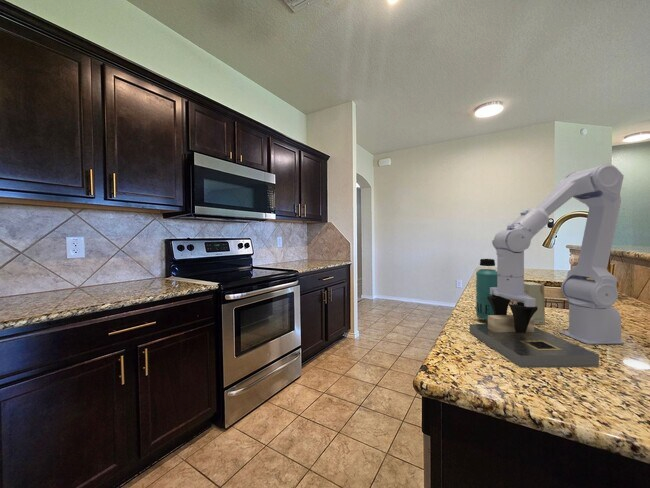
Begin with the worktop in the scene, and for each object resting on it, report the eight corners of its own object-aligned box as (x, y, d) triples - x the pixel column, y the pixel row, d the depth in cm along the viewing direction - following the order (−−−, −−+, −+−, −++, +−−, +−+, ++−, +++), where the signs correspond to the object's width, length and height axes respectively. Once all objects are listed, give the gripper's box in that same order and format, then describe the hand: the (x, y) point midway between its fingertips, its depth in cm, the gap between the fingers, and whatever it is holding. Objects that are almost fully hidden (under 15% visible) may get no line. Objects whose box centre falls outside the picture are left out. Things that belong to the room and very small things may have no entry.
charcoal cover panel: (526, 332, 75) (527, 323, 75) (598, 366, 55) (598, 354, 55) (469, 333, 75) (469, 323, 75) (520, 367, 55) (520, 355, 55)
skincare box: (545, 325, 80) (545, 285, 80) (529, 324, 81) (529, 284, 81) (533, 319, 87) (533, 281, 86) (518, 318, 88) (518, 281, 87)
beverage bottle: (499, 320, 86) (499, 258, 85) (499, 326, 80) (500, 259, 80) (476, 317, 89) (476, 257, 89) (475, 323, 84) (474, 259, 83)
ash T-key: (525, 336, 72) (525, 314, 72) (533, 341, 69) (533, 318, 69) (487, 337, 72) (487, 315, 72) (494, 341, 69) (494, 318, 69)
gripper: (479, 272, 77) (479, 319, 77) (514, 280, 63) (514, 337, 63) (503, 271, 77) (503, 318, 77) (544, 279, 63) (544, 337, 63)
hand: (510, 327), depth 70 cm, fingers open, 7 cm apart
